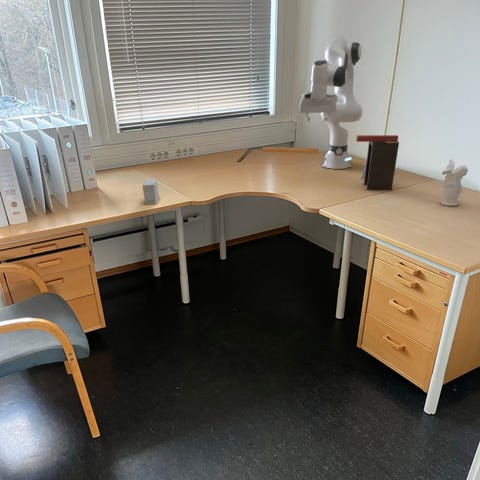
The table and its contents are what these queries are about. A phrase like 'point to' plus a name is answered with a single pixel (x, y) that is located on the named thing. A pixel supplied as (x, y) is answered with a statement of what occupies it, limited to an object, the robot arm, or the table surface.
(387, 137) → the red block
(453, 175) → the cherub figurine
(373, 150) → the stand
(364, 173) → the medicine box
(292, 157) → the table surface
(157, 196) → the cosmetics box
